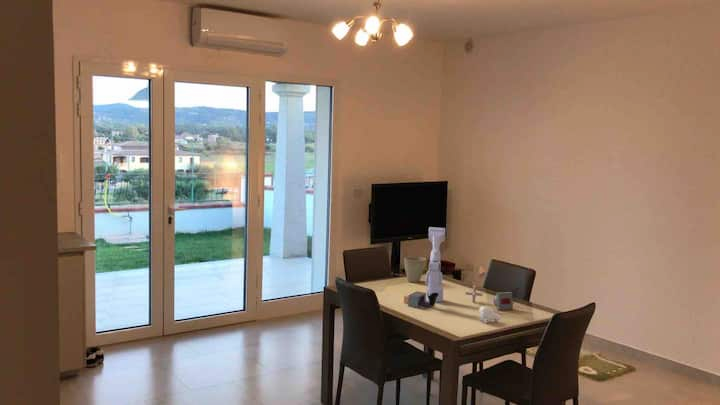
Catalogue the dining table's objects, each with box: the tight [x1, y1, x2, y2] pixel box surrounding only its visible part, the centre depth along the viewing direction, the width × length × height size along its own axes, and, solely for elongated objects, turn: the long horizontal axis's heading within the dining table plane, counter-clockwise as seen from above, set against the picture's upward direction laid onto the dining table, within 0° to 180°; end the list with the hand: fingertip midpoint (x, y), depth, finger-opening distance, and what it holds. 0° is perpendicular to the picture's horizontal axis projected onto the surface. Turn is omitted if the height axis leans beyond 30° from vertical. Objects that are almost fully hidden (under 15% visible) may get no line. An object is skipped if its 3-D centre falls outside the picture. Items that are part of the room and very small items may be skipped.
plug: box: [403, 294, 432, 308], centre depth 353 cm, size 16×4×4 cm, turn 58°
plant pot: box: [403, 256, 427, 284], centre depth 413 cm, size 15×15×16 cm
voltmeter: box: [492, 287, 520, 311], centre depth 360 cm, size 27×11×10 cm, turn 148°
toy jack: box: [465, 285, 484, 303], centre depth 366 cm, size 10×10×10 cm
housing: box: [407, 290, 427, 309], centre depth 352 cm, size 6×12×6 cm, turn 152°
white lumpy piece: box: [478, 305, 501, 325], centre depth 324 cm, size 6×8×12 cm
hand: (432, 305), depth 348 cm, fingers closed
